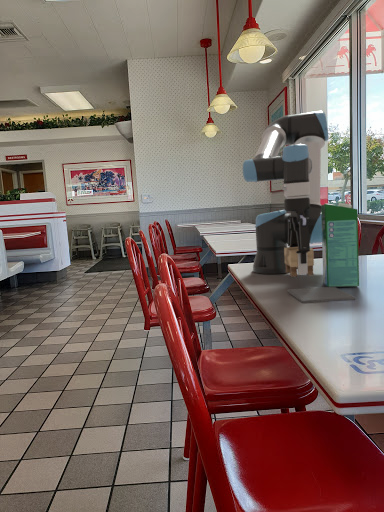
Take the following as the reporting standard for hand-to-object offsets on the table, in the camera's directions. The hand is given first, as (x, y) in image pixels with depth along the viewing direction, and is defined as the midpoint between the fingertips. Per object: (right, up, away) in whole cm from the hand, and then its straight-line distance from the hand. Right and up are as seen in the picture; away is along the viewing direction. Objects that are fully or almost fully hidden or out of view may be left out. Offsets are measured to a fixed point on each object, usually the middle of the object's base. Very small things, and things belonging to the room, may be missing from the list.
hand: (299, 271), depth 120 cm
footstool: (0, -1, 0) cm, 1 cm away
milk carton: (+12, -4, -2) cm, 13 cm away
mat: (+2, -6, -12) cm, 14 cm away
